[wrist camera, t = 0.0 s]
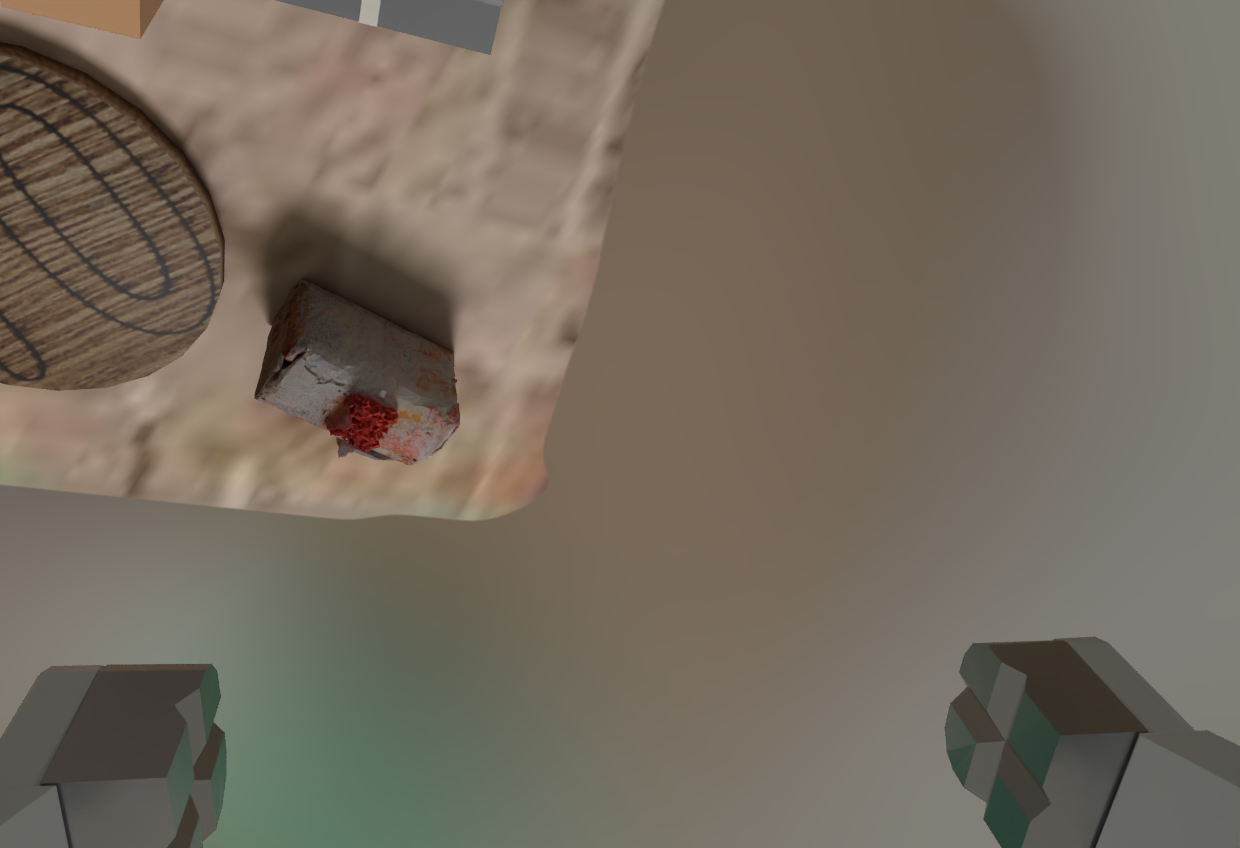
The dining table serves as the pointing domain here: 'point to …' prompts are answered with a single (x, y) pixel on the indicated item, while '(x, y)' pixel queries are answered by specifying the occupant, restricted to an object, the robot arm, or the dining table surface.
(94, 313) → the trivet
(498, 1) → the grey banded bar
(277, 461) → the dining table surface
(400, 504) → the dining table surface
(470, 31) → the base board
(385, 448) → the food item
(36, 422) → the dining table surface
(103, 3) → the orange brown tall block
